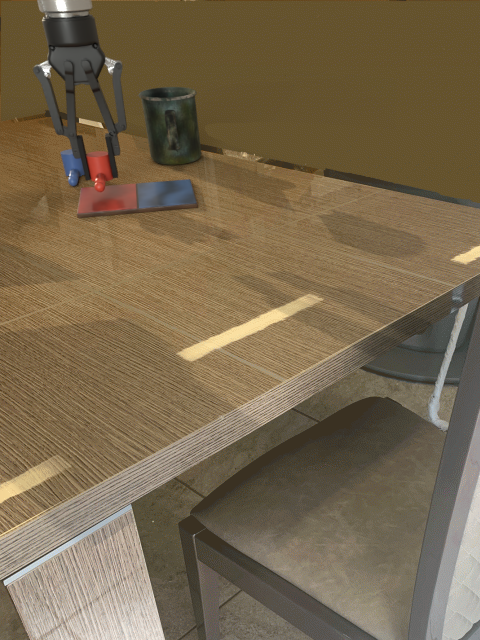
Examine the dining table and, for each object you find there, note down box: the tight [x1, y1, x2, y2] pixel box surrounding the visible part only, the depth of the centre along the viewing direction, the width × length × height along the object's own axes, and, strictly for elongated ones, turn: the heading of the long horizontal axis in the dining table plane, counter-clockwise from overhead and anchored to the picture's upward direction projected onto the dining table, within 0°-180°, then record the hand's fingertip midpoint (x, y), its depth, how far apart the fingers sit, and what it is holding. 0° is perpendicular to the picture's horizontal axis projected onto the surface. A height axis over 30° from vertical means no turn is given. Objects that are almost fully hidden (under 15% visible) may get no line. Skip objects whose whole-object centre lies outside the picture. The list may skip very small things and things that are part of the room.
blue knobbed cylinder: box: [60, 148, 85, 187], centre depth 117 cm, size 10×4×4 cm, turn 14°
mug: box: [138, 86, 202, 166], centre depth 124 cm, size 11×15×12 cm
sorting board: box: [76, 178, 199, 219], centre depth 109 cm, size 19×14×1 cm
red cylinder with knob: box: [86, 150, 115, 192], centre depth 105 cm, size 10×4×4 cm, turn 13°
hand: (102, 176), depth 109 cm, fingers closed on red cylinder with knob, 4 cm apart
